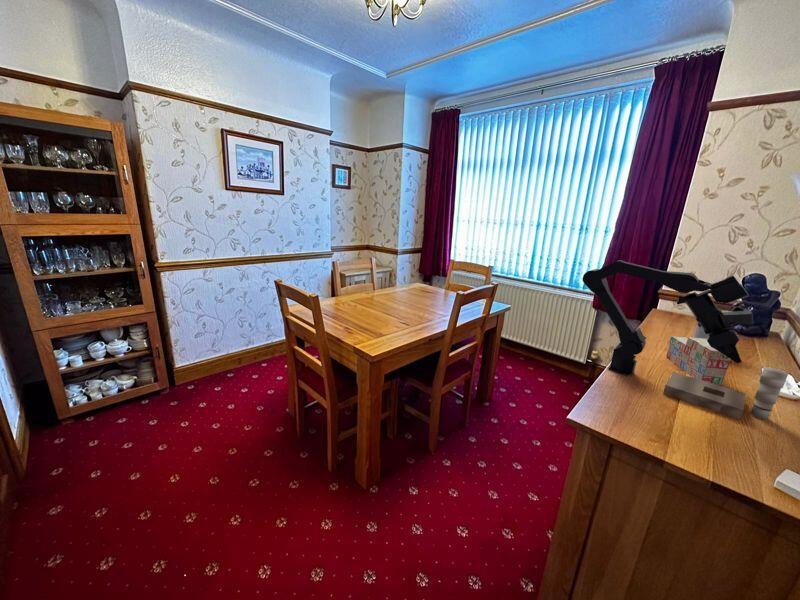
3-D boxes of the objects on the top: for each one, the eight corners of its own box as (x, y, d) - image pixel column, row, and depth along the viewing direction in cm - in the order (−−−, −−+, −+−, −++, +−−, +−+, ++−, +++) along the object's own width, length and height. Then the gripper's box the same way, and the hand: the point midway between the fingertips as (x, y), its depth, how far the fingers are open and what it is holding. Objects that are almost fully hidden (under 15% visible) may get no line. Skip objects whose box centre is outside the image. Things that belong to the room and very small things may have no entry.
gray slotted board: (662, 393, 101) (665, 384, 100) (671, 380, 110) (673, 372, 109) (740, 419, 89) (743, 410, 88) (742, 402, 98) (745, 393, 97)
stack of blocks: (665, 357, 129) (673, 328, 126) (683, 359, 128) (691, 330, 125) (700, 383, 109) (711, 349, 106) (722, 386, 108) (733, 352, 105)
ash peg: (747, 415, 91) (763, 370, 88) (748, 409, 94) (763, 365, 91) (770, 422, 88) (788, 376, 85) (770, 416, 91) (787, 371, 87)
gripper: (744, 304, 86) (782, 358, 83) (735, 293, 100) (768, 339, 97) (693, 321, 93) (727, 371, 90) (691, 309, 107) (721, 351, 104)
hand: (737, 357), depth 95 cm, fingers open, 9 cm apart
